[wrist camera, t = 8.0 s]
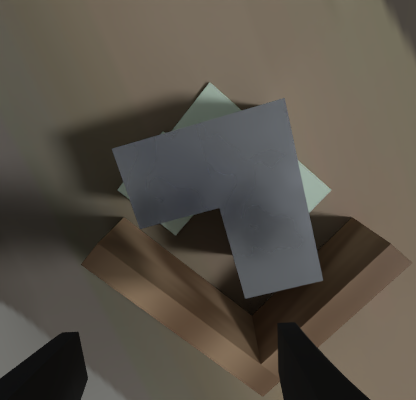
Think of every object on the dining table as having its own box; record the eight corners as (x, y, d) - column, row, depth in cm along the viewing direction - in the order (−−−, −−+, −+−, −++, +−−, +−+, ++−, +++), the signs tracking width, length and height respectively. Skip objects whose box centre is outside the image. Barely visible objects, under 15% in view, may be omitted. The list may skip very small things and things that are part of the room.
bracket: (297, 242, 20) (323, 280, 15) (181, 270, 21) (170, 316, 16) (266, 105, 18) (284, 98, 13) (139, 142, 18) (111, 148, 14)
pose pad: (330, 189, 19) (331, 190, 19) (238, 283, 21) (238, 285, 21) (204, 78, 18) (204, 77, 17) (118, 189, 19) (117, 190, 19)
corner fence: (110, 234, 20) (80, 264, 16) (218, 99, 18) (218, 91, 14) (253, 342, 22) (262, 396, 18) (369, 232, 20) (412, 262, 15)
